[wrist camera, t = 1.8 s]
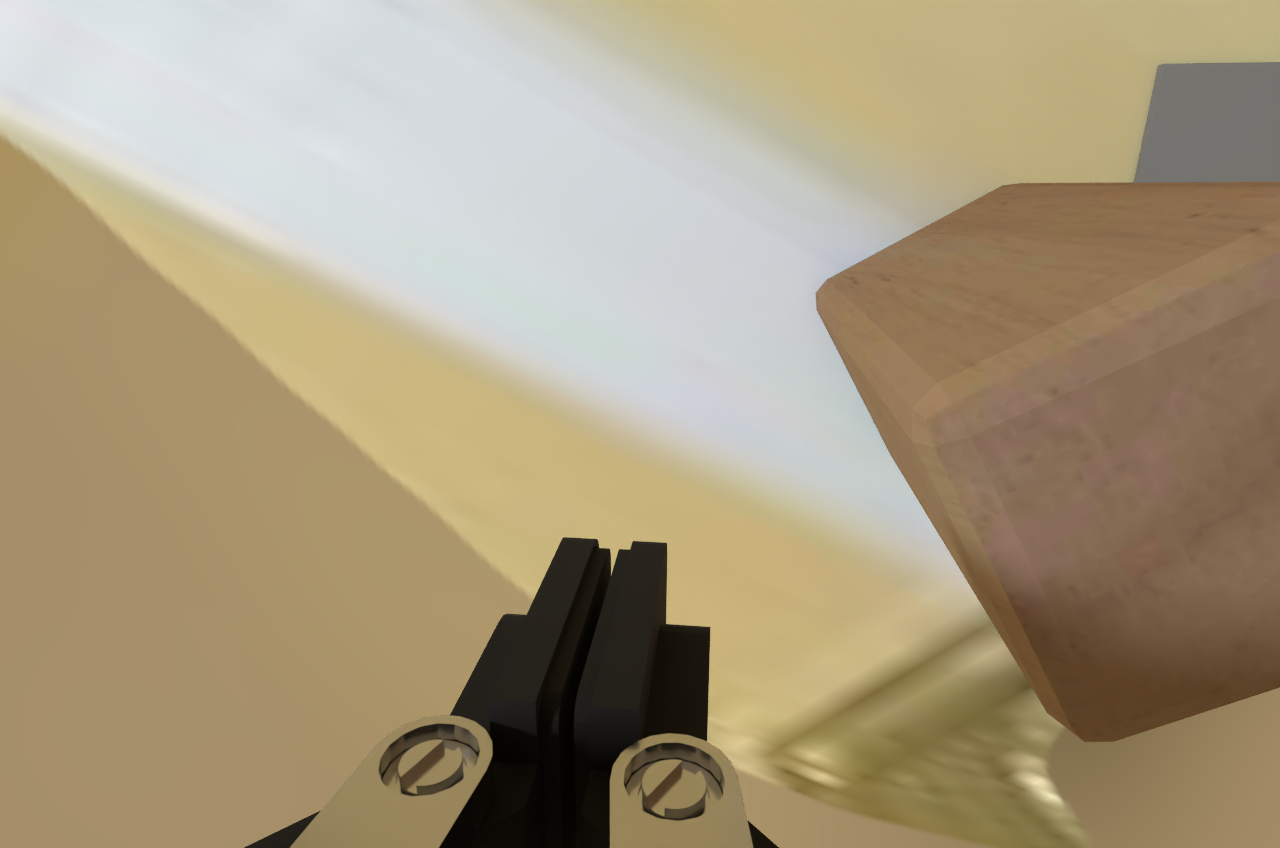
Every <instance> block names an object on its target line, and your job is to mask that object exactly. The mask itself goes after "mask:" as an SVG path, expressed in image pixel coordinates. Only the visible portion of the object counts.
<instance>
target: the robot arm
mask: <svg viewBox="0 0 1280 848" xmlns="http://www.w3.org/2000/svg"><path fill="white" fill-rule="evenodd" d="M666 589H667V543H657V542H638V541H633V543H632V546H631V550H623V549H619V551H618V555H617V558H616V562H615V565H614V568H613V572H612V575H611V554H610V549H605V548H599V544H598V540H597V539H583V538H565V537H563V539H562V540H561V543H560V545H559V547H558V549H557V551H556V553H555V555H554V558H553V560H552V562H551V564H550V566H549V568H548V570H547V573H546V575H545V577H544V579H543V581H542V583H541V585H540V588H539V590H538V592H537V594H536V596H535V598H534V600H533V603H532V605H531V607H530V609H529V611H528V613H527V615H519V614H505V615H503V617H502V618H501V619H500V621H499V623H498V625H497V627H496V629H495V630H494V632H493V634H492V636H491V638H490V640H489V642H488V644H487V646H486V648H485V649H484V651H483V653H482V655H481V657H480V659H479V661H478V663H477V665H476V667H475V669H474V671H473V672H472V675H471V676H470V678H469V680H468V682H467V684H466V686H465V688H464V690H463V691H462V693H461V695H460V697H459V699H458V701H457V703H456V705H455V707H454V709H453V711H452V712H451V714H450V715H440V716H431V717H424V718H422V719H418V720H415V721H412V722H410V723H407V724H404V725H403V726H401V727H399V728H398V729H396V730H394V731H392V732H391V733H389V734H388V735H387V736H386V737H385V738H384V739H382V740H381V741H380V742H379V743H378V744H377V745H376V746H375V747H374V748H373V750H372V751H371V752H370V753H369V754H368V755H367V757H366V758H365V759H364V760H363V761H362V763H361V764H360V765H359V766H358V767H357V769H356V770H355V771H354V772H353V773H352V775H351V776H350V777H349V778H348V779H347V780H346V781H345V783H344V784H343V785H342V786H341V787H340V789H339V790H338V791H337V792H336V793H335V795H334V796H333V797H332V798H331V799H330V800H329V802H328V803H327V804H326V805H325V806H324V808H323V809H322V810H321V811H319V812H317V813H315V814H313V815H311V816H309V817H306V818H304V819H302V820H300V821H298V822H296V823H294V824H292V825H290V826H288V827H286V828H284V829H282V830H280V831H278V832H276V833H273V834H271V835H269V836H267V837H265V838H263V839H261V840H259V841H257V842H255V843H253V844H251V845H249V846H247V847H245V848H779V847H777V846H776V845H775V844H774V843H773V842H772V841H770V840H769V839H768V838H767V837H766V836H765V835H764V834H763V833H761V832H760V831H759V830H758V829H757V828H756V827H754V826H753V825H752V824H751V823H750V822H749V821H748V820H747V816H746V812H745V807H744V803H743V798H742V794H741V790H740V784H739V780H738V776H737V774H736V772H735V769H734V767H733V765H732V762H731V761H730V760H729V759H728V758H727V757H726V756H725V755H724V753H723V752H722V751H721V750H720V749H718V748H716V747H715V746H713V745H712V744H710V743H708V742H707V721H708V686H709V652H710V627H701V626H686V625H670V624H666Z"/></svg>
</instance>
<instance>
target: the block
mask: <svg viewBox="0 0 1280 848" xmlns="http://www.w3.org/2000/svg"><path fill="white" fill-rule="evenodd" d="M816 305H817V311H818V313H819V315H820V317H821V319H822V321H823V323H824V325H825V327H826V329H827V331H828V333H829V335H830V337H831V338H832V340H833V342H834V344H835V346H836V348H837V350H838V352H839V354H840V356H841V358H842V360H843V362H844V364H845V366H846V368H847V370H848V372H849V374H850V376H851V378H852V380H853V382H854V384H855V386H856V388H857V390H858V392H859V394H860V396H861V397H862V399H863V401H864V403H865V405H866V407H867V409H868V411H869V413H870V415H871V417H872V419H873V421H874V423H875V425H876V427H877V429H878V431H879V433H880V435H881V437H882V439H883V441H884V443H885V445H886V447H887V449H888V451H889V453H890V455H891V456H892V458H893V460H894V461H895V463H896V464H897V466H898V468H899V469H900V471H901V473H902V474H903V476H904V478H905V479H906V481H907V483H908V484H909V486H910V488H911V489H912V491H913V492H914V494H915V496H916V497H917V499H918V501H919V502H920V504H921V506H922V507H923V509H924V511H925V512H926V514H927V516H928V517H929V519H930V521H931V522H932V524H933V525H934V527H935V529H936V530H937V532H938V534H939V535H940V537H941V539H942V540H943V542H944V544H945V545H946V547H947V549H948V550H949V552H950V553H951V555H952V557H953V558H954V560H955V562H956V563H957V565H958V567H959V568H960V570H961V572H962V573H963V575H964V577H965V578H966V580H967V581H968V583H969V585H970V586H971V588H972V590H973V591H974V593H975V595H976V596H977V598H978V600H979V601H980V603H981V605H982V606H983V608H984V610H985V611H986V613H987V614H988V616H989V618H990V619H991V621H992V623H993V624H994V626H995V628H996V629H997V631H998V633H999V634H1000V636H1001V638H1002V639H1003V641H1004V642H1005V644H1006V646H1007V647H1008V649H1009V651H1010V652H1011V654H1012V656H1013V657H1014V659H1015V661H1016V662H1017V664H1018V666H1019V667H1020V669H1021V670H1022V672H1023V674H1024V675H1025V677H1026V679H1027V680H1028V682H1029V684H1030V685H1031V687H1032V689H1033V690H1034V692H1035V694H1036V695H1037V697H1038V699H1039V700H1040V702H1041V703H1042V705H1043V707H1044V708H1045V710H1046V712H1047V713H1048V714H1049V715H1051V716H1052V717H1053V718H1055V719H1056V720H1057V721H1058V722H1060V723H1061V724H1062V725H1064V726H1065V727H1066V728H1067V729H1069V730H1070V731H1071V732H1073V733H1074V734H1075V735H1076V736H1078V737H1079V738H1080V739H1081V740H1083V741H1084V742H1105V741H1106V742H1110V741H1111V742H1112V741H1117V740H1120V739H1123V738H1126V737H1128V736H1132V735H1135V734H1138V733H1141V732H1144V731H1147V730H1150V729H1154V728H1156V727H1159V726H1163V725H1165V724H1169V723H1172V722H1175V721H1178V720H1181V719H1184V718H1187V717H1190V716H1193V715H1196V714H1199V713H1203V712H1206V711H1209V710H1212V709H1215V708H1218V707H1221V706H1224V705H1227V704H1230V703H1233V702H1236V701H1239V700H1242V699H1245V698H1249V697H1251V696H1255V695H1258V694H1261V693H1264V692H1267V691H1270V690H1273V689H1276V688H1279V687H1280V182H1152V183H1020V184H1012V185H1004V186H1001V187H999V188H997V189H995V190H994V191H992V192H990V193H988V194H986V195H984V196H982V197H980V198H979V199H977V200H975V201H973V202H971V203H969V204H967V205H966V206H964V207H962V208H960V209H958V210H956V211H954V212H952V213H951V214H949V215H947V216H945V217H943V218H941V219H939V220H937V221H936V222H934V223H932V224H930V225H928V226H926V227H924V228H923V229H921V230H919V231H917V232H915V233H913V234H911V235H909V236H908V237H906V238H904V239H902V240H900V241H898V242H896V243H895V244H893V245H891V246H889V247H887V248H885V249H883V250H881V251H880V252H878V253H876V254H874V255H872V256H870V257H868V258H866V259H865V260H863V261H861V262H859V263H857V264H855V265H853V266H852V267H850V268H848V269H846V270H844V271H842V272H840V273H838V274H837V275H835V276H833V277H831V278H829V279H827V280H826V282H825V283H824V284H823V285H822V286H821V287H820V289H819V290H818V291H817V292H816Z"/></svg>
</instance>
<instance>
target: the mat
mask: <svg viewBox="0 0 1280 848" xmlns="http://www.w3.org/2000/svg"><path fill="white" fill-rule="evenodd" d="M1152 182H1280V62H1269V63H1194V64H1162V65H1158V69H1157V74H1156V79H1155V84H1154V88H1153V93H1152V98H1151V103H1150V108H1149V112H1148V117H1147V122H1146V127H1145V132H1144V137H1143V141H1142V146H1141V151H1140V156H1139V161H1138V165H1137V170H1136V175H1135V180H1134V183H1152Z"/></svg>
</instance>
